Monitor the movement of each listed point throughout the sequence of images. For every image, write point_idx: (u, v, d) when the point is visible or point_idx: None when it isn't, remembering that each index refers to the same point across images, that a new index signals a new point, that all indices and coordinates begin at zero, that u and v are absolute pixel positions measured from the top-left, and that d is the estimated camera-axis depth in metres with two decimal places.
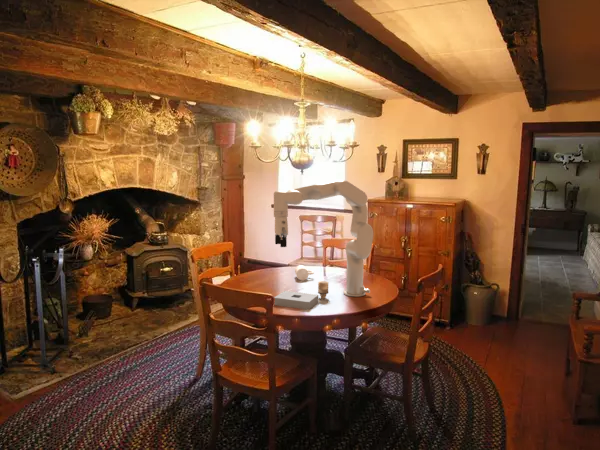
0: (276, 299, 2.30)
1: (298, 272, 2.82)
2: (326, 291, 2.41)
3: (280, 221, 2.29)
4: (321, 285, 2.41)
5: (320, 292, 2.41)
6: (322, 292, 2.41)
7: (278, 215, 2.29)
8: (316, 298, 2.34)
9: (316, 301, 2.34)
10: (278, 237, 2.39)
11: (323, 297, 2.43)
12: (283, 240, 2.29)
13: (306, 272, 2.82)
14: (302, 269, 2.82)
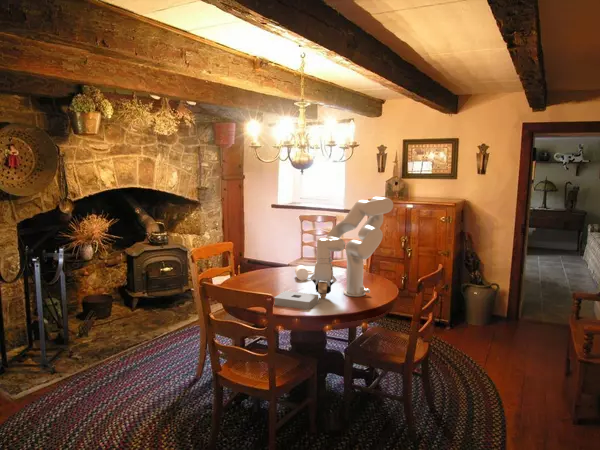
0: (276, 299, 2.30)
1: (298, 272, 2.82)
2: (326, 291, 2.41)
3: (330, 268, 2.39)
4: (321, 285, 2.41)
5: (320, 292, 2.41)
6: (322, 292, 2.41)
7: (327, 262, 2.38)
8: (316, 298, 2.34)
9: (316, 301, 2.34)
10: None
11: (323, 297, 2.43)
12: (330, 286, 2.41)
13: (306, 272, 2.82)
14: (302, 269, 2.82)
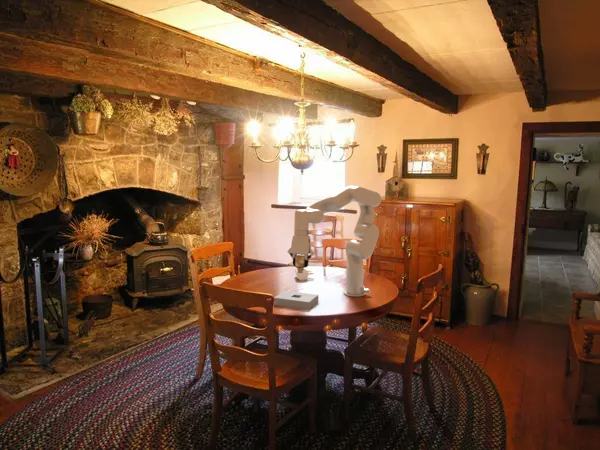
0: (276, 299, 2.30)
1: None
2: (303, 265, 2.31)
3: (307, 240, 2.28)
4: (298, 258, 2.30)
5: (297, 266, 2.31)
6: (299, 266, 2.30)
7: (305, 234, 2.28)
8: (316, 298, 2.34)
9: (316, 301, 2.34)
10: None
11: (300, 271, 2.32)
12: (307, 260, 2.31)
13: (306, 272, 2.82)
14: None
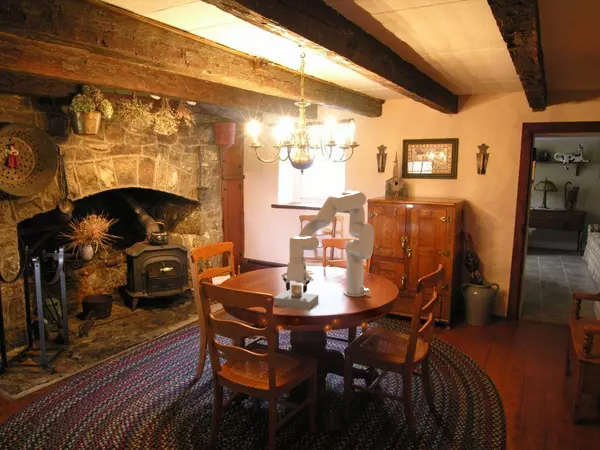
0: (276, 299, 2.30)
1: None
2: (299, 294, 2.31)
3: (303, 267, 2.28)
4: (294, 288, 2.30)
5: (293, 295, 2.31)
6: (295, 295, 2.31)
7: (300, 261, 2.28)
8: (316, 298, 2.34)
9: (316, 301, 2.34)
10: (288, 283, 2.35)
11: None
12: (306, 285, 2.30)
13: None
14: None
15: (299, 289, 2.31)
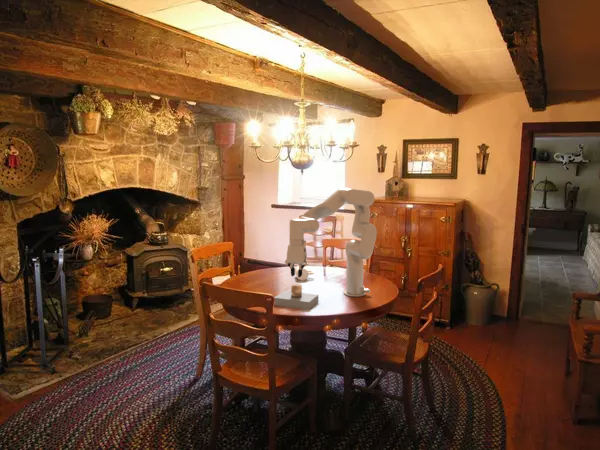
0: (276, 299, 2.30)
1: None
2: (299, 294, 2.31)
3: (303, 249, 2.27)
4: (294, 288, 2.30)
5: (293, 295, 2.31)
6: (295, 295, 2.31)
7: (300, 244, 2.27)
8: (316, 298, 2.34)
9: (316, 301, 2.34)
10: (293, 269, 2.32)
11: None
12: (301, 270, 2.30)
13: (306, 272, 2.82)
14: (302, 269, 2.82)
15: (299, 289, 2.31)
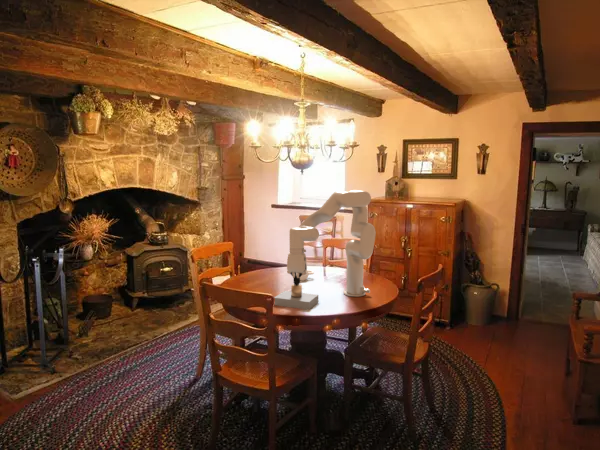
0: (276, 299, 2.30)
1: None
2: (299, 294, 2.31)
3: (303, 258, 2.28)
4: (294, 288, 2.30)
5: (293, 295, 2.31)
6: (295, 295, 2.31)
7: (300, 253, 2.27)
8: (316, 298, 2.34)
9: (316, 301, 2.34)
10: (296, 277, 2.32)
11: None
12: (299, 278, 2.31)
13: (306, 272, 2.82)
14: None
15: (299, 289, 2.31)
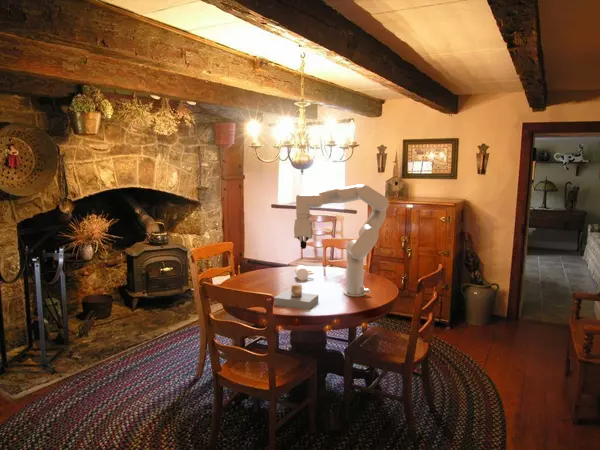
0: (276, 299, 2.30)
1: (298, 272, 2.82)
2: (299, 294, 2.31)
3: (309, 223, 2.42)
4: (294, 288, 2.30)
5: (293, 295, 2.31)
6: (295, 295, 2.31)
7: (306, 217, 2.41)
8: (316, 298, 2.34)
9: (316, 301, 2.34)
10: None
11: None
12: (305, 242, 2.46)
13: (306, 272, 2.82)
14: (302, 269, 2.82)
15: (299, 289, 2.31)
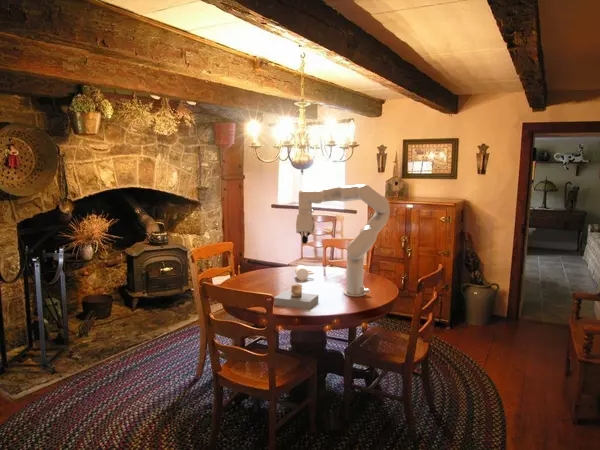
0: (276, 299, 2.30)
1: (298, 272, 2.82)
2: (299, 294, 2.31)
3: (311, 218, 2.47)
4: (294, 288, 2.30)
5: (293, 295, 2.31)
6: (295, 295, 2.31)
7: (308, 213, 2.47)
8: (316, 298, 2.34)
9: (316, 301, 2.34)
10: None
11: None
12: (307, 237, 2.51)
13: (306, 272, 2.82)
14: (302, 269, 2.82)
15: (299, 289, 2.31)
